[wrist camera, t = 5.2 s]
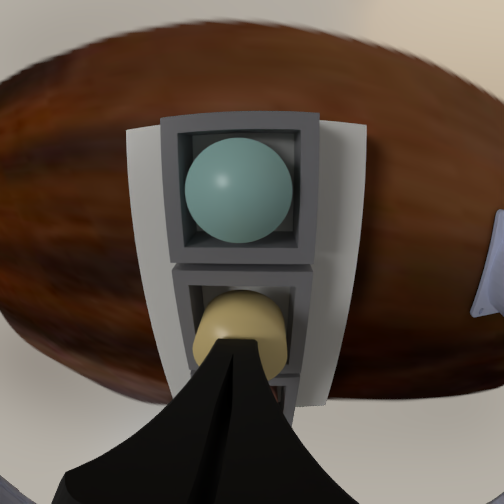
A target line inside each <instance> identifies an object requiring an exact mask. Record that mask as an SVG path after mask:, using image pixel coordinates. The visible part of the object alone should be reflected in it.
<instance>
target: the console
mask: <svg viewBox="0 0 504 504" xmlns="http://www.w3.org/2000/svg"><path fill="white" fill-rule="evenodd" d="M229 138H247V139H252V140H255V141H258V142H261V143H263V144H265V145H266V146H268V147H269V148H271V149H272V150H273V151H275V152H276V153H277V154H278V155H279V157H280V158H281V159H282V160H283V162H284V163H285V165H286V167H287V169H288V171H289V174H290V177H291V182H292V200H291V205H290V208H289V210H288V213H287V215H286V217H285V218H284V220H283V221H282V223H281V224H280V225H279V226H278V227H277V228H276V229H275V230H274V231H273V232H271V233H270V234H268V235H267V236H265V237H263V238H261V239H259V240H256V241H253V242H247V243H231V242H226V241H222V240H219V239H217V238H215V237H213V236H211V235H210V234H208V233H207V232H205V231H204V230H203V229H202V228H201V227H200V226H199V225H198V224H197V223H196V221H195V220H194V219H193V217H192V215H191V213H190V211H189V209H188V206H187V202H186V197H185V183H186V178H187V174H188V171H189V169H190V167H191V165H192V163H193V162H194V160H195V159H196V158H197V156H198V155H199V154H200V153H201V152H202V151H203V150H205V149H206V148H207V147H209V146H210V145H212V144H214V143H216V142H219V141H221V140H225V139H229ZM126 144H127V165H128V180H129V192H130V202H131V211H132V220H133V228H134V235H135V242H136V248H137V255H138V261H139V267H140V272H141V278H142V283H143V288H144V293H145V298H146V302H147V307H148V311H149V316H150V320H151V324H152V328H153V332H154V336H155V340H156V344H157V347H158V351H159V354H160V358H161V362H162V365H163V368H164V372H165V375H166V378H167V381H168V384H169V388H170V391H171V394H172V397H173V398H174V397H175V396H176V395H177V394H178V393H179V392H180V390H181V389H182V388H183V387H184V386H185V385H186V383H187V382H188V381H189V380H190V378H191V377H192V376H193V374H194V373H195V372H196V370H197V369H198V368H199V366H198V364H197V363H196V361H195V358H194V355H193V343H194V339H195V336H196V333H197V330H198V327H199V325H200V322H201V319H202V316H203V313H204V310H205V308H206V306H207V305H208V304H209V302H210V301H211V300H212V299H214V298H215V297H216V296H218V295H220V294H222V293H224V292H227V291H231V290H251V291H255V292H259V293H261V294H263V295H265V296H267V297H269V298H270V299H271V300H273V301H274V302H275V303H276V304H277V305H278V307H279V308H280V310H281V312H282V314H283V317H284V322H285V332H286V342H287V361H286V364H285V366H284V368H283V369H282V370H281V372H280V373H279V374H278V375H277V376H275V377H274V378H272V379H271V380H269V381H268V383H269V385H270V386H277V391H278V405H279V407H280V408H281V410H282V412H283V414H284V416H285V417H286V419H287V421H288V423H289V424H290V426H291V427H292V422H293V416H294V411H295V407H304V406H320V405H325V404H326V401H327V398H328V394H329V391H330V387H331V384H332V380H333V376H334V373H335V369H336V365H337V361H338V357H339V353H340V349H341V344H342V340H343V335H344V331H345V326H346V321H347V317H348V311H349V306H350V301H351V295H352V290H353V284H354V277H355V271H356V264H357V257H358V250H359V242H360V233H361V224H362V213H363V202H364V188H365V170H366V125H361V124H353V123H344V122H334V121H322V120H319V113H310V112H290V111H235V112H215V113H201V114H190V115H181V116H172V117H164V118H160V125H156V126H149V127H143V128H137V129H131V130H126Z"/></svg>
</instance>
